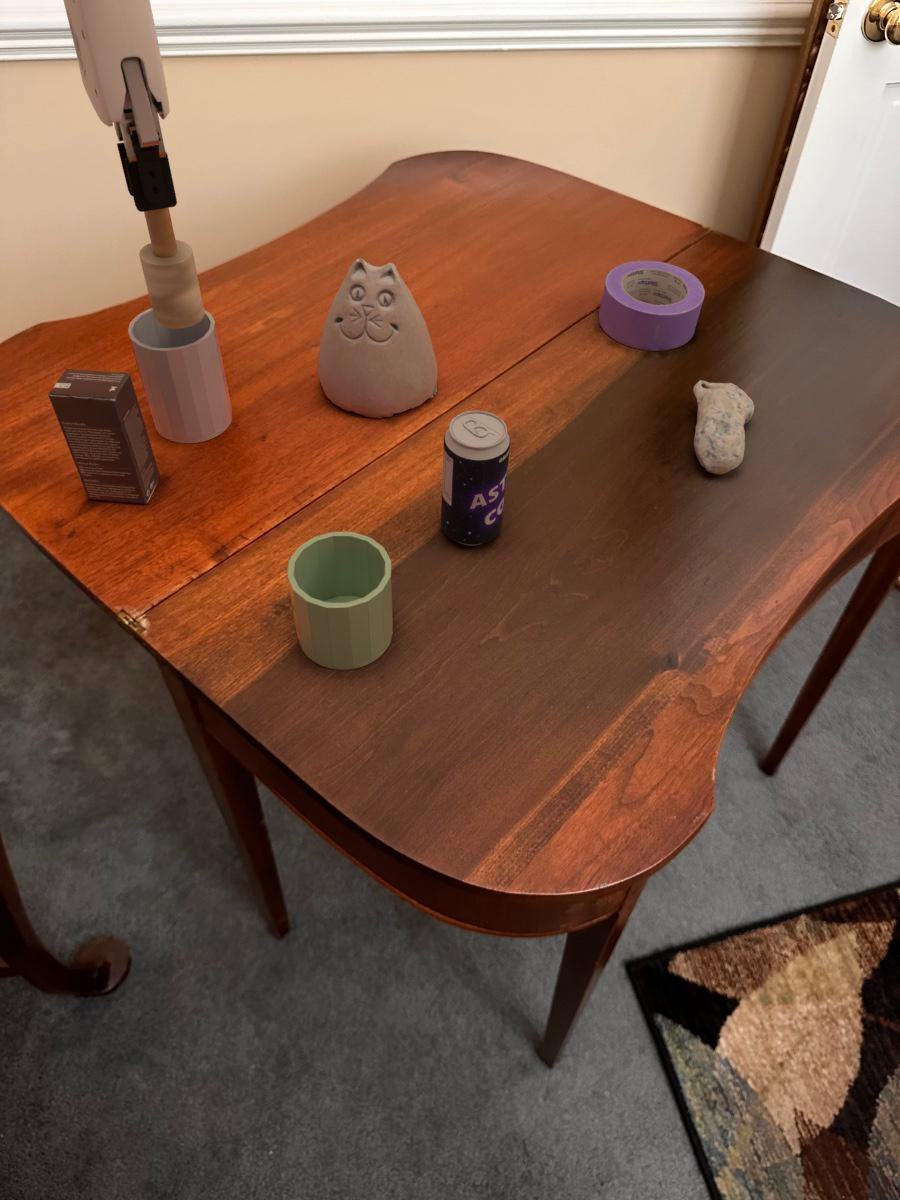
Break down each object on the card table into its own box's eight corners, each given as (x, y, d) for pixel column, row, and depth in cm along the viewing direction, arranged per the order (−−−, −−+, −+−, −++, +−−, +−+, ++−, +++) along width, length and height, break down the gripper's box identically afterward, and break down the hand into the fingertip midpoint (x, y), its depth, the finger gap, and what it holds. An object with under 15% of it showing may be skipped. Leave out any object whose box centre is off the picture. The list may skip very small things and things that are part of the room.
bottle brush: (160, 333, 76) (113, 142, 64) (149, 308, 79) (102, 119, 67) (210, 323, 78) (173, 133, 66) (198, 298, 80) (160, 112, 68)
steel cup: (163, 451, 88) (137, 358, 79) (147, 405, 93) (120, 312, 84) (241, 432, 90) (223, 340, 82) (221, 388, 95) (202, 296, 86)
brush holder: (315, 682, 70) (306, 620, 64) (285, 612, 75) (274, 547, 69) (407, 651, 72) (406, 588, 66) (372, 585, 77) (369, 520, 71)
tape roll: (697, 355, 102) (708, 317, 98) (598, 346, 103) (605, 308, 99) (691, 302, 110) (701, 264, 106) (598, 293, 110) (605, 256, 106)
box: (162, 474, 86) (131, 371, 76) (147, 506, 83) (114, 402, 73) (102, 469, 86) (64, 365, 77) (85, 500, 83) (44, 396, 74)
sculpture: (335, 430, 91) (324, 300, 79) (308, 367, 98) (294, 239, 86) (451, 407, 94) (456, 279, 83) (416, 347, 101) (416, 221, 90)
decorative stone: (755, 486, 87) (771, 447, 83) (688, 478, 88) (701, 438, 84) (746, 406, 96) (760, 367, 92) (685, 399, 96) (697, 360, 92)
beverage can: (467, 560, 79) (474, 459, 70) (428, 525, 82) (430, 424, 73) (512, 533, 82) (525, 432, 73) (473, 500, 85) (481, 399, 75)
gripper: (13, -107, 60) (88, 167, 74) (47, -46, 51) (125, 254, 65) (124, -113, 62) (176, 154, 76) (176, -55, 53) (225, 237, 67)
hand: (152, 198), depth 70 cm, fingers closed on bottle brush, 2 cm apart
